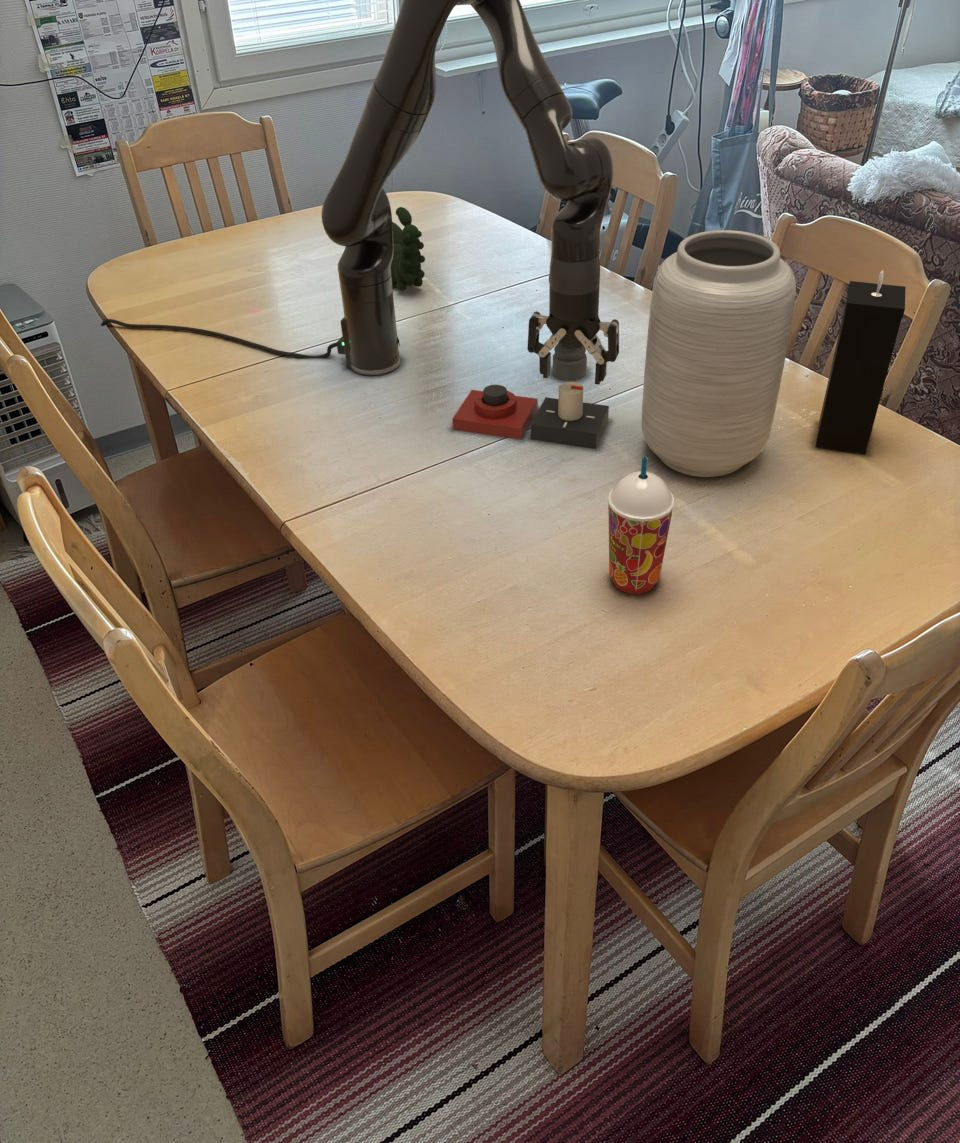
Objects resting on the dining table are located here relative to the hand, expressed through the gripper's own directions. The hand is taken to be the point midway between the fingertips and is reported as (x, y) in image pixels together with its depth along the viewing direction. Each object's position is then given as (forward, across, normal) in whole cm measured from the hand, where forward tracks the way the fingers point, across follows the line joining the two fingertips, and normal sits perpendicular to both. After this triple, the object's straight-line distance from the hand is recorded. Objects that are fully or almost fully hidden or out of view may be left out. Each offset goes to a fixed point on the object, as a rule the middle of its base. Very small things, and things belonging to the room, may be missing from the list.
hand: (572, 379), depth 155 cm
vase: (+10, -22, +1) cm, 24 cm away
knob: (+7, 0, 0) cm, 7 cm away
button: (+6, +13, 0) cm, 14 cm away
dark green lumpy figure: (+9, +52, -50) cm, 73 cm away
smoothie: (+10, -18, +35) cm, 41 cm away
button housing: (+10, +13, 0) cm, 16 cm away
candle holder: (+10, +5, -19) cm, 22 cm away
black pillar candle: (+10, -43, -9) cm, 45 cm away
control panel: (+10, 0, 0) cm, 10 cm away
